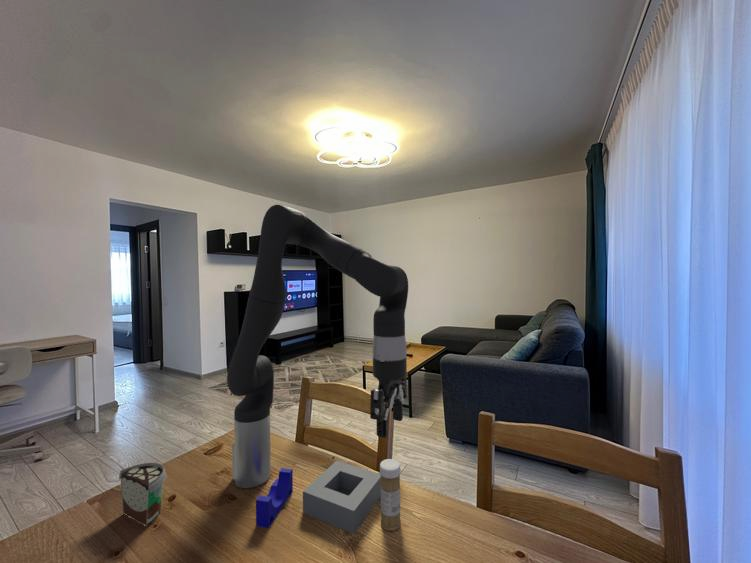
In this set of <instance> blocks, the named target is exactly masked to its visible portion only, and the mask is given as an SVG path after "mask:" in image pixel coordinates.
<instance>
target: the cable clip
mask: <svg viewBox="0 0 751 563" xmlns="http://www.w3.org/2000/svg"><path fill="white" fill-rule="evenodd" d="M293 474H294V472H293V469H292V468H284V467H281V468H280V470H279V471H278V478H276V479H275V480H274V482H273V483H272V484H271V485H270V488H269V491H268V493H267V495H258V496H257V498H256V499H255V527H258V528H266V529H270V526H271V525H272V523H274V520H275V519H276V518H277V516H278V515H279V513H280V511H281V510H282V508H283V507H284V506H285V504H286V502H287V501H288V499H289V498H290V497H291V495H292V494H293V492H294V489H293V485H294V484H293V480H294V478H293V477H294V476H293Z"/></svg>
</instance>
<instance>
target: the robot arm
mask: <svg viewBox="0 0 751 563" xmlns="http://www.w3.org/2000/svg"><path fill="white" fill-rule="evenodd" d="M259 235H260V237H259V245H258V252H257V253H258V254H257V259H256V264H255V269H254V274H253V280H252V284H251V287H250V291H249V295H248V298H247V303H246V307H245V313H244V318H243V322H242V325H241V330H240V334H239V336H238V340H237V344H236V345H235V348H234V352H233V354H232V357H231V360H230V363H229V365H228V369H227V374H226V375H227V376H226V384H227V387H228V390H229V392H230V393H231V394H232V395H234V396H237V397H243V396H244V397H243V399H242V400H241V401H240V402H239V403H237V405H236V406H235V407H234V408H235V409H234V412H233V416H234V421H233V422H234V425H233V426H234V429H233V431H234V443H232V448H231V449H232V450H231V452H232V453H231V454H232V457H231V460H232V480H234V483H235V484H234V485H235V486H237V487H238V488H242V489H253V488H256V487H258V486H261V485H262V484H264V483H266V482H267V481H268V480H269V479H270V477H271V472H272V470H271V457H272V456H271V408H272V405H273V402H274V386H275V383H274V382H275V375H274V374H275V372H274V367H273V363H272V362H271V360H270V359H269V357H267V356H265V355H262V354H260V352H261V350H262V347H263V346H264V344H265V343H266V341H267V339H268V338H269V337H270V335H271V334H272V333H273V331H274V330H275V328H276V327H277V326H278V325H279V322H280V320H281V319H282V315H283V312H284V308H285V304H286V301H287V286H286V280H285V278H284V272H283V267H282V263H283V262H282V261H283V256H284V252H285V248H286V246H287V244H288V245H298V246H301V247H304V248H306V249H308V250H311V251H313V252H315V253H316V254H318V255H319V256H321V258H322V259H323V260H324V261H325V262H326V263H327V264H329V266H331V267H332V268H334V269H335V270H337V271H339V272H340V273H342V274H344V275H346V276H348V277H349V278H352V279H354V281H356V282H357V283H358V284H359V285H360V286H362V287H363V288H364V289H365V290H366V291H367V292H368V293H371V294H373V295H375V296H377V297H379V303H378V307H377V309H376V310H375V311H374V313H373V321H372V322H373V323H372V326H373V339H372V375H373V377H374V378H375V379H376V380H378V387H377V389H374V388H372V389H370V405H369V406H370V408H369V409H370V419H371V420H375V421H376V436H377V437H379V438H383V439H385V438H387V437H388V415H389V412H390V410H392V419H393V420H394V421H398V422H402V421H403V418H404V414H403V413H404V412H403V410H404V409H403V408H404V407H403V406H404V403H405V399H406V400H407V397H408V395H407V394H408V391H407V388H408V387H407V373H408V372H407V371H408V370H407V368H408V367H407V362H408V360H407V341H406V320H405V317H406V316H405V314H406V308H407V302H408V296H409V279H408V276H407V273H406V272H405V271H404V269H403V268H401V267H400V266H395V265H388V264H386V263H384V262H381V261H379V260H377V259H376V258H374V257H373V256H372V255H371V254H370V253H369V252H367V251H365V250H364V249H362V248H360V247H358V246H356V245H355V244H354V243H353V244H352V243H351V242H348V241H346V240H344V239H343V238H340V237H338V236H336V235H334V234H332V233H330V232H328V231H327V230H326V229H324V228H323V227H321V226H320V225H319V224H317V223H316V222H315V221H313V219H311V218H310V217H309V216H307V215H306V214H305V213H304V212H302V211H300V210H298V209H296V208H293V207H289V206H286V205H282V204H273V205H272V206H270V207H269V208H268V209H267V211H266V212H265V213H264V216H263V218H262V223H261V228H260V234H259Z"/></svg>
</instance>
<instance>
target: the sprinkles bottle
mask: <svg viewBox="0 0 751 563" xmlns="http://www.w3.org/2000/svg"><path fill="white" fill-rule="evenodd" d="M379 474H380V475H381V497H380V518H381V519H380V525H381V527H382V529H383V530H385V531H389V532H393V531H396V530H398V529H399V528H400V527H401V523H402V522H401V480H400V478H401V476H400V475H401V463H400V462H399V461H398V460H396V459H393V458H387V459H383V460H381V462H380V464H379Z"/></svg>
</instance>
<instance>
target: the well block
mask: <svg viewBox="0 0 751 563" xmlns="http://www.w3.org/2000/svg"><path fill="white" fill-rule="evenodd" d="M380 500H381V475H380V472H376V471H373V470H369V469H366V468H362V467H359V466H356V465H352V464H349V463H346V462H343V461H340V460H335V461H334V462H333V463H332V464H331V465H330V466H329V467H328V468H327V469H325V471H323V472H322V473H321V474H320V475H318V477H317V478H316V479H315V480H313V482H312V483H310V484H309V485H308V486H307V487H306V488H304V490H302V513H303V514H305V515H307V516H309V517H311V518H314V519H317V520H320V522H321V521H322V522H325V523H326V524H329V525H331V526H333V527H336V528H339V529H341V530H342V531H346V532H348V533H350V534H353V535H355V534H356V533H357V531H358V530H359V529H360V527H361V526H362V524H363V523H364V521H365V520H366V518H367V517H368V515H369V514H370V513H371V512H372V510H373V508H374V507H376V505H377V504H378V501H380Z"/></svg>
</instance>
